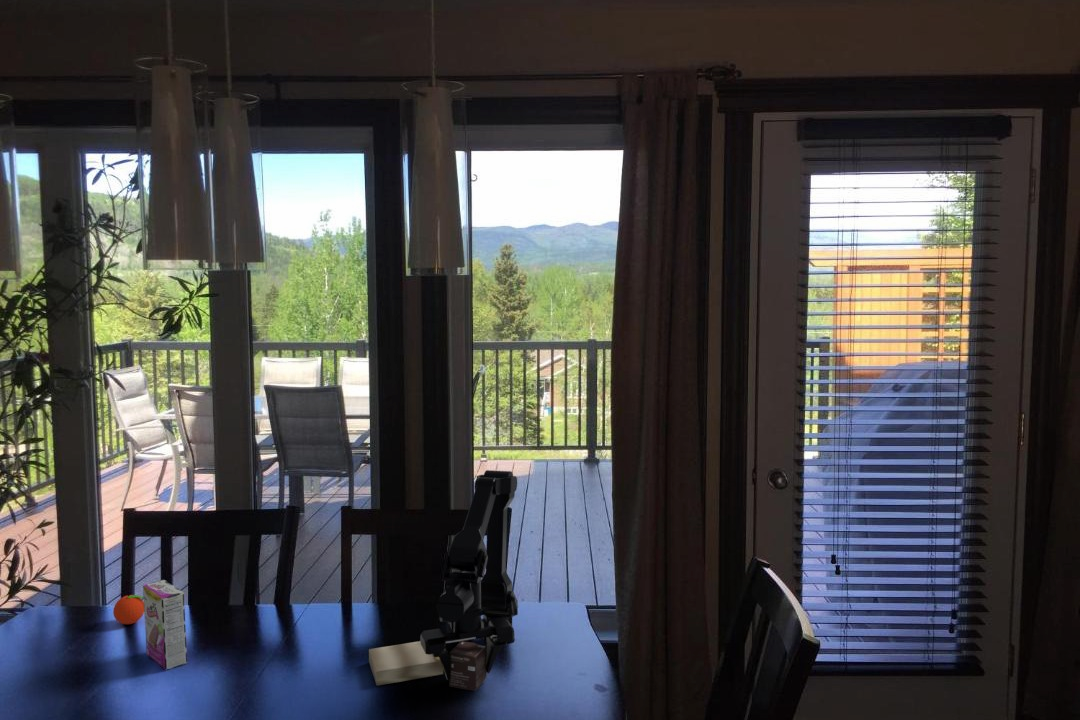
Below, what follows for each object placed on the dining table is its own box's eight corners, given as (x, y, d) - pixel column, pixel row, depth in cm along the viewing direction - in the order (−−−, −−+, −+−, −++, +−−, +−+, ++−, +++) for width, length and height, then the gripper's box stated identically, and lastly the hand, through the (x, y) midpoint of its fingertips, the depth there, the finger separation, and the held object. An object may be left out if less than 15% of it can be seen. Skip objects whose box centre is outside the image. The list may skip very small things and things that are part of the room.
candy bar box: (144, 656, 174) (141, 584, 173) (167, 648, 178) (164, 578, 177) (164, 672, 167) (161, 597, 166) (188, 663, 171) (185, 591, 169)
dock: (432, 652, 175) (431, 638, 175) (443, 674, 165) (443, 659, 165) (369, 662, 171) (368, 648, 170) (376, 685, 160) (376, 670, 160)
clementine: (152, 615, 197) (151, 588, 196) (146, 626, 190) (145, 598, 190) (117, 619, 195) (116, 591, 194) (110, 630, 188) (109, 602, 188)
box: (448, 687, 160) (447, 652, 159) (461, 673, 165) (460, 640, 165) (475, 692, 158) (475, 657, 157) (487, 678, 163) (487, 644, 163)
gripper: (498, 583, 171) (499, 652, 172) (414, 594, 164) (415, 666, 166) (514, 601, 160) (515, 674, 162) (425, 614, 154) (426, 690, 155)
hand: (468, 675), depth 161 cm, fingers closed on box, 8 cm apart
